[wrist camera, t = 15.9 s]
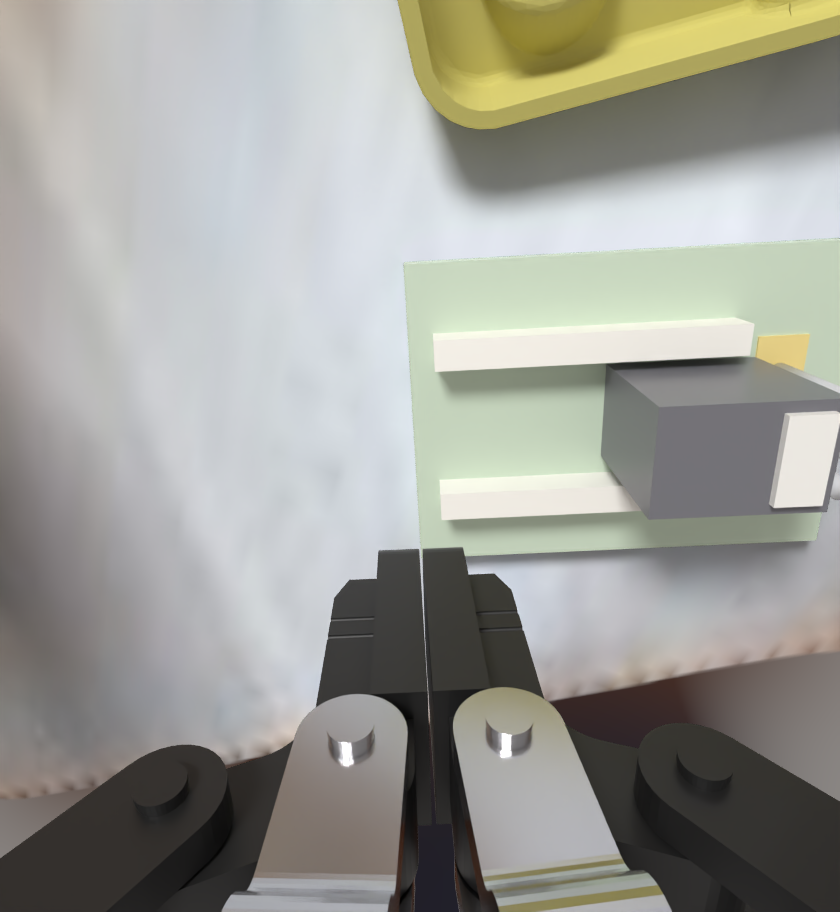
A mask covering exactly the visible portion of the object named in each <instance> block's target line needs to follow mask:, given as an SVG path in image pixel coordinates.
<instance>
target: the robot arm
mask: <svg viewBox="0 0 840 912" xmlns="http://www.w3.org/2000/svg"><path fill="white" fill-rule="evenodd" d="M422 552H423V586H424V617H425V640H424V624H423V607H422V591H421V574H420V558H419V549H405V550H382V551H379V552H378V567H377V579H361V580H349V581H348V582H347V583H346V585H345V586H344V587H343V588H342V589H341V591H340V592H339V593H338V594H337V595H336V597H335V598H334V603H333V609H332V615H331V622H330V627H329V633H328V640H327V645H326V651H325V657H324V662H323V668H322V674H321V680H320V686H319V692H318V698H317V704H316V708H315V709H313V710H312V711H311V712H310V713H309V714H308V715H307V716H306V717H305V718H304V719H303V721H302V722H301V724H300V725H299V727H298V729H297V732H296V734H295V738H294V740H293V741H292V742H291V743H289V744H288V745H286V746H285V747H283V748H282V749H280V750H278V751H276V752H274V753H272V754H270V755H267V756H264V757H262V758H259V759H256V760H253V761H249V762H246V763H243V764H240V765H237V766H234V767H231V768H228V769H226V768H225V765H224V763H223V761H222V760H221V758H220V757H219V756H218V755H217V754H216V753H214V752H213V751H211V750H209V749H207V748H204V747H201V746H195V745H177V746H170V747H166V748H162V749H159V750H157V751H154V752H151V753H149V754H147V755H145V756H143V757H141V758H139V759H138V760H136V761H134V762H133V763H131V764H130V765H128V766H127V767H126V768H124V769H123V770H121V771H120V772H119V773H117V774H116V775H115V776H113V777H112V778H110V779H109V780H108V781H106V782H105V783H104V784H102V785H101V786H99V787H98V788H97V789H95V790H94V791H93V792H91V793H90V794H88V795H87V796H86V797H84V798H83V799H82V800H80V801H79V802H77V803H76V804H75V805H73V806H72V807H71V808H69V809H68V810H66V811H65V812H64V813H62V814H61V815H60V816H58V817H57V818H55V819H54V820H53V821H51V822H50V823H49V824H47V825H46V826H44V827H43V828H42V829H40V830H39V831H38V832H36V833H35V834H33V835H32V836H31V837H29V838H28V839H26V840H25V841H24V842H22V843H21V844H20V845H18V846H17V847H15V848H14V849H13V850H11V851H10V852H9V853H7V854H6V855H4V856H3V857H2V858H0V912H414V898H415V896H414V895H415V875H416V872H417V868H418V859H419V849H418V825H432V815H431V784H430V753H429V721H428V693H429V709H430V725H431V742H432V756H433V757H432V758H433V773H434V788H435V789H434V790H435V806H436V822H437V824H451V823H452V829H453V841H454V853H455V887H456V893H457V899H458V906H459V912H840V801H838V800H836V799H835V798H833V797H831V796H829V795H828V794H826V793H824V792H823V791H821V790H819V789H818V788H816V787H814V786H812V785H811V784H809V783H807V782H806V781H804V780H802V779H801V778H799V777H797V776H795V775H794V774H792V773H790V772H789V771H787V770H785V769H783V768H782V767H780V766H778V765H776V764H775V763H773V762H772V761H770V760H768V759H767V758H765V757H763V756H761V755H760V754H758V753H756V752H755V751H753V750H751V749H749V748H748V747H746V746H745V745H743V744H741V743H739V742H738V741H736V740H734V739H733V738H731V737H729V736H727V735H725V734H723V733H721V732H718V731H716V730H714V729H711V728H708V727H704V726H701V725H695V724H689V723H674V724H667V725H663V726H660V727H658V728H656V729H653V730H652V731H651V732H649V733H648V734H647V735H646V736H645V737H644V739H643V740H642V742H641V744H640V746H639V749H638V748H633V747H629V746H624V745H620V744H615V743H611V742H606V741H602V740H598V739H594V738H591V737H589V736H586V735H584V734H581V733H579V732H578V731H576V730H574V729H572V728H570V727H569V726H568V725H566V724H565V723H564V721H563V719H562V717H561V716H560V714H559V713H558V711H557V710H556V709H555V708H554V707H553V706H552V705H551V704H550V703H549V702H547V701H546V700H545V699H544V697H543V694H542V691H541V687H540V684H539V681H538V677H537V674H536V671H535V667H534V664H533V661H532V657H531V654H530V651H529V647H528V644H527V641H526V637H525V634H524V631H523V630H522V624H521V621H520V617H519V614H518V613H517V607H516V604H515V601H514V597H513V594H512V591H511V589H510V588H509V587H508V586H507V585H506V584H505V583H504V582H502V581H501V580H500V579H499V578H498V577H497V576H496V575H495V574H474V575H468V570H467V565H466V560H465V554H464V550H463V547H449V548H426V549H423V550H422ZM425 642H426V657H425ZM426 661H427V674H426ZM427 677H428V690H427Z"/></svg>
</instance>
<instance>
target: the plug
mask: <svg viewBox="0 0 840 912" xmlns="http://www.w3.org/2000/svg"><path fill="white" fill-rule="evenodd" d="M839 453H840V393H838V392H836V391H833V390H831V389H829V388H826V387H824V386H822V385H819V384H817V383H815V382H812V381H810V380H808V379H805V378H803V377H801V376H799V375H796V374H794V373H792V372H789V371H787V370H785V369H782V368H780V367H778V366H775V365H773V364H771V363H768V362H766V361H764V360H761V359H759V358H757V357H742V358H721V359H700V360H680V361H659V362H638V363H618V364H606V377H605V393H604V410H603V426H602V442H601V456H602V458H603V459H604V461H605V462H606V463H607V465H608V466H609V467H610V469H611V470H612V471H613V473H614V474H615V475H616V477H617V478H618V479H619V481H620V482H621V484H622V485H623V486H624V488H625V489H626V490H627V492H628V493H629V494H630V496H631V497H632V498H633V500H634V501H635V502H636V504H637V505H638V506H639V508H640V509H641V511H642V512H643V513H644V515H645V516H646V517H647V519H648V520H655V519H678V518H701V517H725V516H748V515H771V514H794V513H818V512H827V509H828V504H829V500H830V495H831V490H832V486H833V481H834V476H835V472H836V467H837V462H838V458H839Z"/></svg>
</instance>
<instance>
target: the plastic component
mask: <svg viewBox="0 0 840 912" xmlns="http://www.w3.org/2000/svg"><path fill="white" fill-rule="evenodd" d="M398 4H399V9H400V13H401V17H402V22H403V26H404V31H405V35H406V39H407V44H408V48H409V53H410V57H411V62H412V66H413V70H414V75H415V77H416V79H417V82H418V84H419V86H420V88H421V91H422V93H423V94H424V96H425V97H426V98H427V100H428V101H429V102H430V104H431V105H432V106H433V107H434V109H435V110H437V111H438V112H439V113H440V114H442V115H443V116H444V117H446V118H447V119H448V120H450V121H452V122H454V123H456V124H459V125H461V126H464V127H467V128H473V129H496V128H500V127H503V126H507V125H511V124H515V123H518V122H522V121H526V120H529V119H533V118H537V117H540V116H544V115H548V114H551V113H555V112H559V111H562V110H566V109H570V108H573V107H577V106H581V105H585V104H588V103H592V102H596V101H599V100H603V99H607V98H610V97H614V96H618V95H621V94H625V93H629V92H632V91H636V90H640V89H643V88H647V87H651V86H655V85H658V84H662V83H666V82H669V81H673V80H677V79H680V78H684V77H688V76H691V75H695V74H699V73H702V72H706V71H710V70H713V69H717V68H721V67H724V66H728V65H732V64H736V63H739V62H743V61H747V60H750V59H754V58H758V57H761V56H765V55H769V54H772V53H776V52H780V51H783V50H787V49H791V48H794V47H798V46H802V45H806V44H809V43H813V42H817V41H820V40H824V39H827V38H830V37H834V36H837V35H840V0H398Z"/></svg>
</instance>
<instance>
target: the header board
mask: <svg viewBox="0 0 840 912" xmlns="http://www.w3.org/2000/svg"><path fill="white" fill-rule="evenodd" d="M404 280H405V296H406V313H407V329H408V346H409V362H410V379H411V395H412V412H413V428H414V445H415V461H416V478H417V494H418V511H419V527H420V544H421V558H423V552H422V550H423V549H426V548H449V547H463V550H464V554H465V556H482V555H504V554H526V553H548V552H570V551H593V550H615V549H637V548H659V547H681V546H703V545H726V544H748V543H770V542H792V541H814V540H816V539H817V534H818V529H819V524H820V519H821V514H822V512H818V513H794V514H771V515H748V516H725V517H701V518H678V519H655V520H648V519H647V517H646V516H645V515H644V513H643V512H642V511H641V509H640V508H639V506H638V505H637V504H636V502H635V501H634V500H633V498H632V497H631V496H630V494H629V493H628V492H627V490H626V489H625V488H624V486H623V485H622V484H621V482H620V481H619V479H618V478H617V477H616V475H615V474H614V473H613V471H612V470H611V469H610V467H609V466H608V465H607V463H606V462H605V461H604V459H603V458H602V456H601V442H602V426H603V410H604V393H605V377H606V364H618V363H638V362H659V361H680V360H700V359H721V358H742V357H757V358H759V359H761V360H764V361H766V362H768V363H771V364H773V365H775V366H778V367H780V368H782V369H785V370H787V371H789V372H792V373H794V374H796V375H799V376H801V377H803V378H805V379H808V380H810V381H812V382H815V383H817V384H819V385H822V386H824V387H826V388H829V389H831V390H833V391H836V392H838V393H840V238H832V239H814V240H796V241H778V242H760V243H742V244H724V245H707V246H689V247H671V248H653V249H635V250H617V251H599V252H581V253H563V254H545V255H527V256H509V257H491V258H473V259H455V260H437V261H419V262H404ZM839 458H840V453H839ZM830 497H831V498H832V499H835V500H840V475H839V474H837V473H836V472H835V476H834V481H833V486H832V490H831V495H830Z"/></svg>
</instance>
